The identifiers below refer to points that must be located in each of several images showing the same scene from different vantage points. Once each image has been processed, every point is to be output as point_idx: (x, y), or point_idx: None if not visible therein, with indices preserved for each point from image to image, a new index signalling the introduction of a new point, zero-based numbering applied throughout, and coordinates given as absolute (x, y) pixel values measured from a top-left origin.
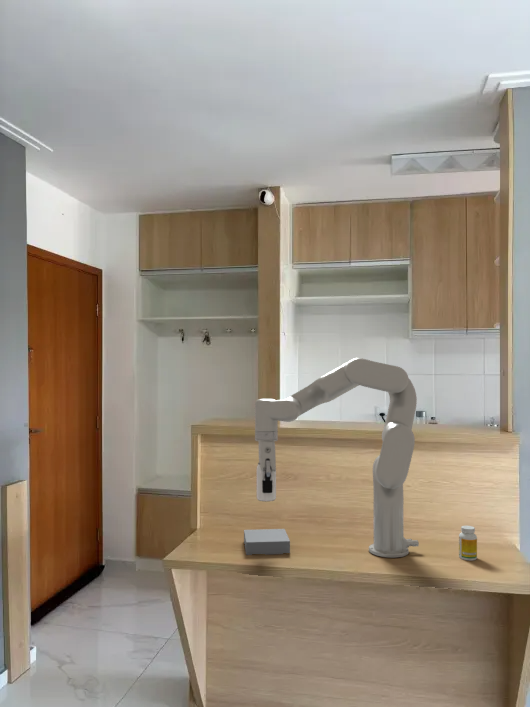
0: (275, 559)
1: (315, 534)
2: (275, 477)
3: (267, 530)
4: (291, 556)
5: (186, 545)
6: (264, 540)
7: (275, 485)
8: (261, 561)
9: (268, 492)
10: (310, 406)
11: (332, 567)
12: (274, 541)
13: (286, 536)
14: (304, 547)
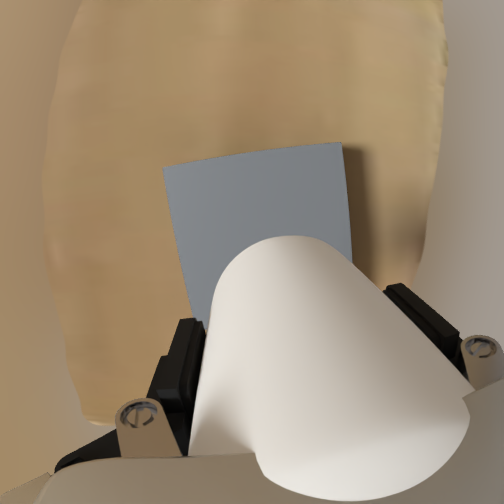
0: (381, 194)
1: (96, 65)
2: (387, 318)
3: (194, 240)
4: (352, 141)
5: None
6: (334, 243)
7: (350, 274)
8: (396, 237)
9: None
10: None
11: (426, 42)
12: (346, 204)
13: (278, 154)
14: (252, 91)
